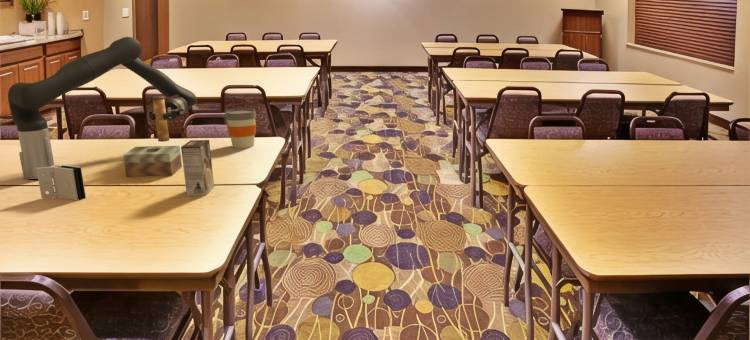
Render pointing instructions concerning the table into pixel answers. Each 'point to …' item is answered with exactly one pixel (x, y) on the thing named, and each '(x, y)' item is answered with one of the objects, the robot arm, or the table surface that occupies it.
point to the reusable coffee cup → (241, 127)
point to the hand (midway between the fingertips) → (158, 117)
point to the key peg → (160, 118)
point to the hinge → (61, 182)
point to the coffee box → (197, 167)
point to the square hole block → (152, 161)
